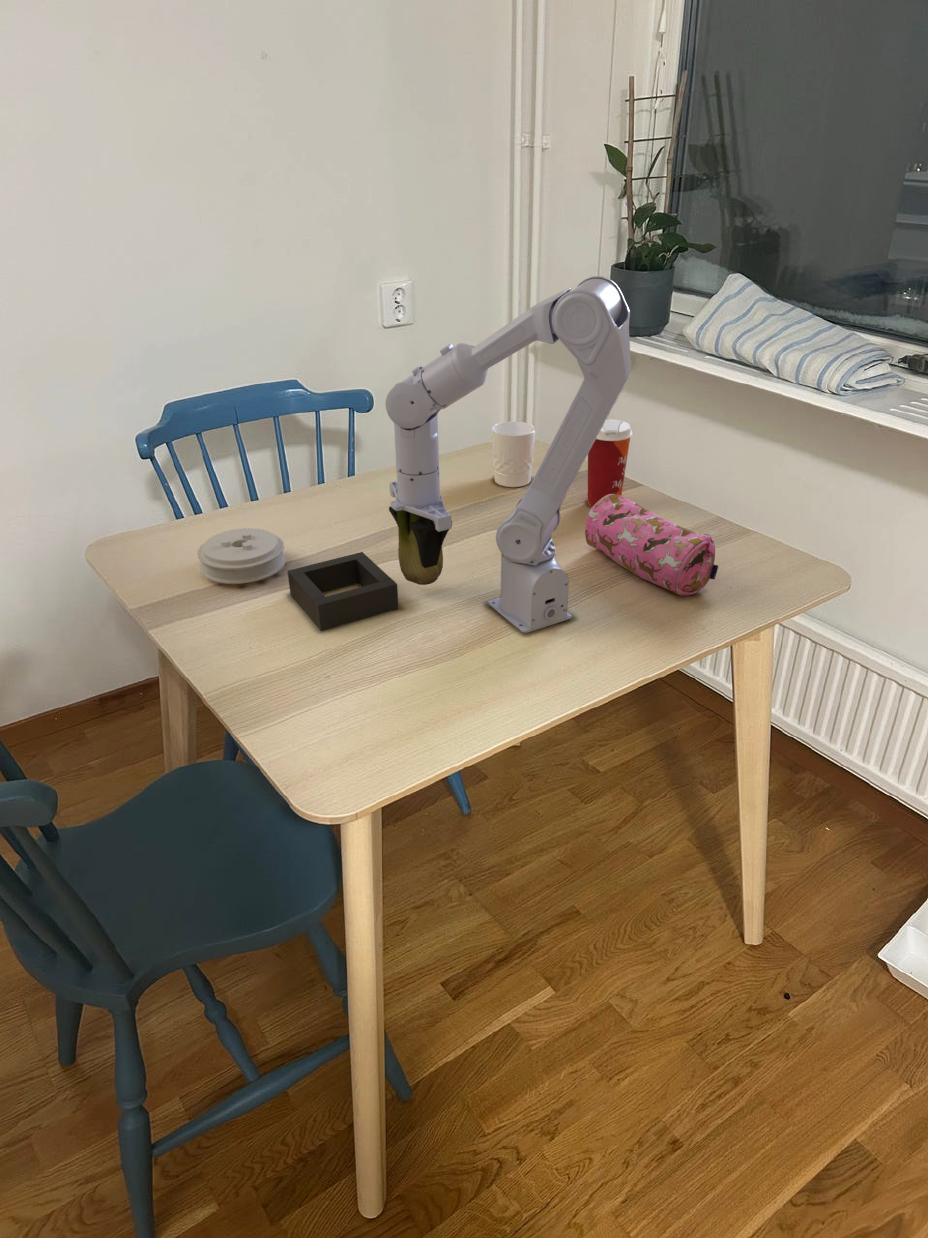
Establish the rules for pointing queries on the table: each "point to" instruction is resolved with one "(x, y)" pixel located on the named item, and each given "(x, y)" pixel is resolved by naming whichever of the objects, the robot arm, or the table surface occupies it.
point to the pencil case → (651, 545)
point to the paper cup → (608, 460)
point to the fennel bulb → (414, 554)
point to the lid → (241, 556)
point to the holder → (345, 606)
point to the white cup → (513, 453)
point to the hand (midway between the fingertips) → (421, 558)
